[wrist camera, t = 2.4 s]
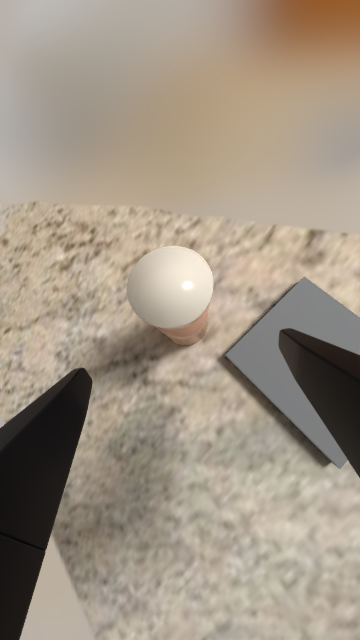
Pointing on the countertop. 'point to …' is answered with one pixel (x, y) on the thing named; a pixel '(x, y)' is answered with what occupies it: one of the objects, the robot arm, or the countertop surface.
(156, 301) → the terracotta canister
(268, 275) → the countertop surface
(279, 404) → the mat
